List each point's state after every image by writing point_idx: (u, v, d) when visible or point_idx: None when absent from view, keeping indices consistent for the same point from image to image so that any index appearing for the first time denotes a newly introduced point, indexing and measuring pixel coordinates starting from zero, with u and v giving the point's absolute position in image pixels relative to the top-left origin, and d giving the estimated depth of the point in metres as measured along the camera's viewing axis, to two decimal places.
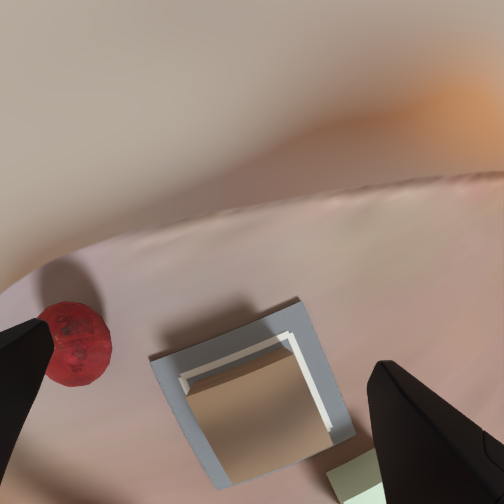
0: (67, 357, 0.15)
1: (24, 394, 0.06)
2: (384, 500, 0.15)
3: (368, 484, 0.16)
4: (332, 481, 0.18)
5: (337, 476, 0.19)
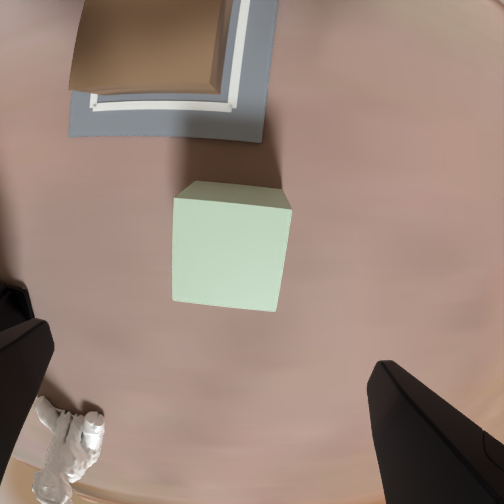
0: None
1: (24, 394, 0.06)
2: (234, 251, 0.14)
3: (225, 199, 0.13)
4: (191, 185, 0.16)
5: (202, 185, 0.16)
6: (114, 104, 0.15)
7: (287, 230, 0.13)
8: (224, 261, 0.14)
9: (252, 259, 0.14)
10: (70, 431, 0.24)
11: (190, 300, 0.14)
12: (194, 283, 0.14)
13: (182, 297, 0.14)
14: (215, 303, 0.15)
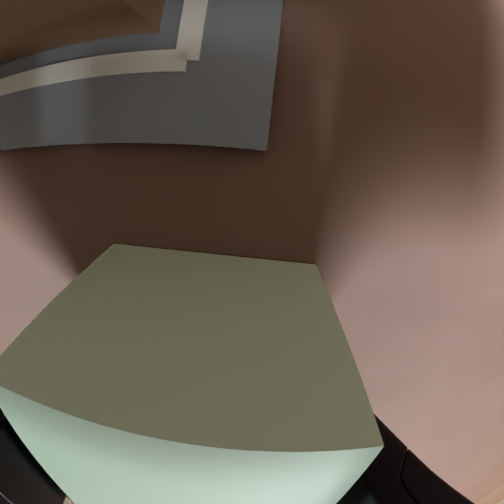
0: None
1: None
2: None
3: (133, 396, 0.03)
4: (83, 275, 0.06)
5: (113, 270, 0.06)
6: None
7: (351, 480, 0.03)
8: None
9: None
10: None
11: None
12: None
13: None
14: None
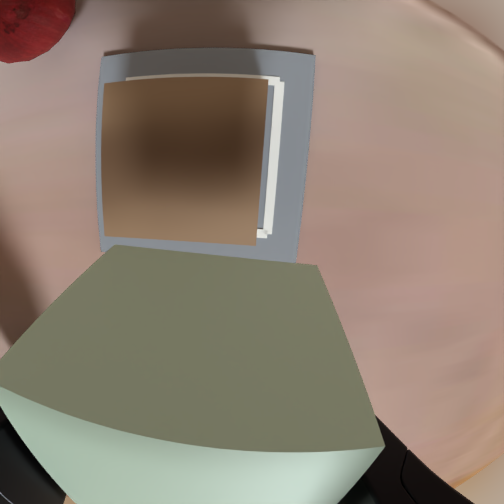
0: (6, 13, 0.07)
1: None
2: None
3: (134, 398, 0.03)
4: (85, 276, 0.06)
5: (115, 271, 0.06)
6: None
7: (352, 480, 0.03)
8: None
9: None
10: None
11: None
12: None
13: None
14: None
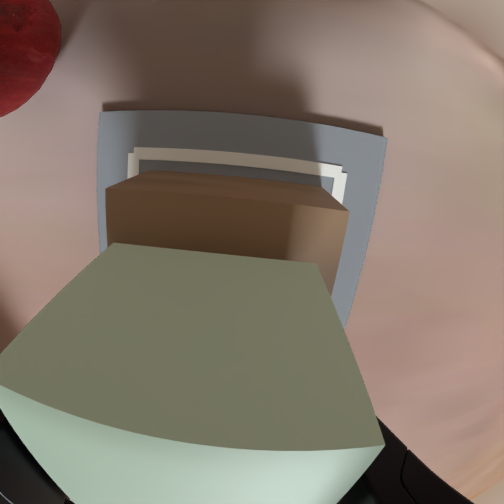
0: None
1: None
2: None
3: (132, 395, 0.03)
4: (83, 274, 0.06)
5: (113, 269, 0.06)
6: None
7: (351, 480, 0.03)
8: None
9: None
10: None
11: None
12: None
13: None
14: None
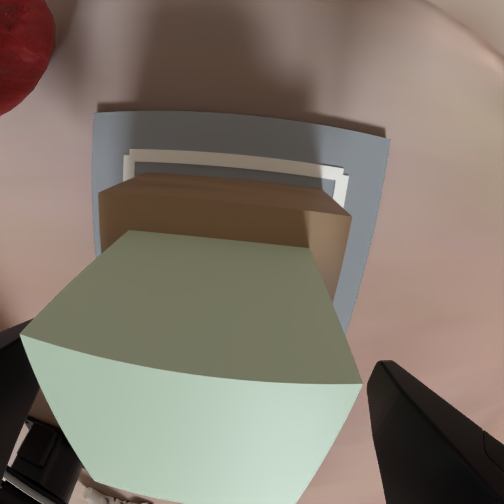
0: None
1: (24, 394, 0.06)
2: (194, 454, 0.04)
3: (155, 342, 0.04)
4: (105, 254, 0.06)
5: (131, 251, 0.07)
6: None
7: (338, 423, 0.04)
8: (175, 465, 0.05)
9: (242, 467, 0.04)
10: None
11: (124, 489, 0.05)
12: (122, 475, 0.05)
13: (109, 483, 0.05)
14: (171, 500, 0.05)
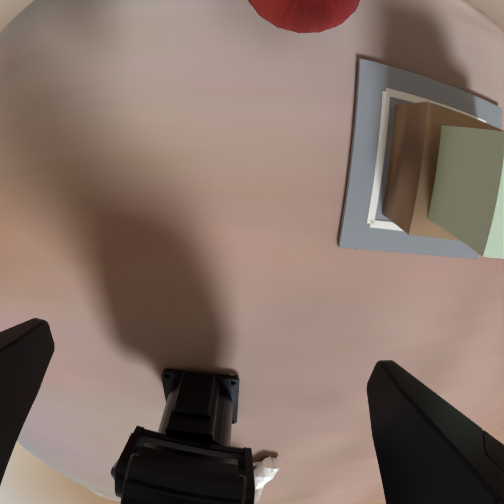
0: None
1: (24, 394, 0.06)
2: None
3: None
4: (463, 127, 0.11)
5: None
6: (390, 224, 0.18)
7: None
8: None
9: None
10: None
11: (497, 254, 0.10)
12: None
13: (492, 251, 0.09)
14: None
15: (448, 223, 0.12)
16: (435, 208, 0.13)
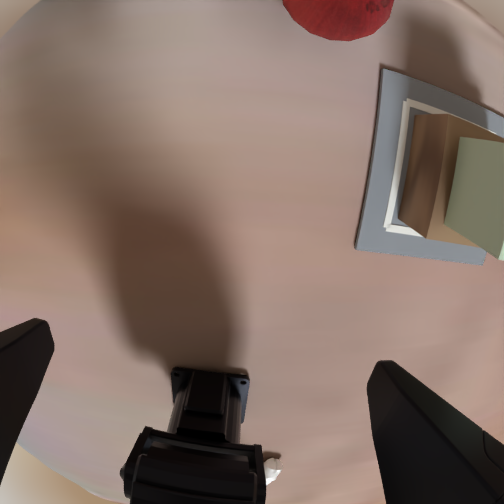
0: None
1: (24, 394, 0.06)
2: None
3: None
4: (481, 139, 0.11)
5: None
6: (405, 229, 0.19)
7: None
8: None
9: None
10: None
11: None
12: None
13: None
14: None
15: (464, 228, 0.13)
16: (452, 214, 0.14)
